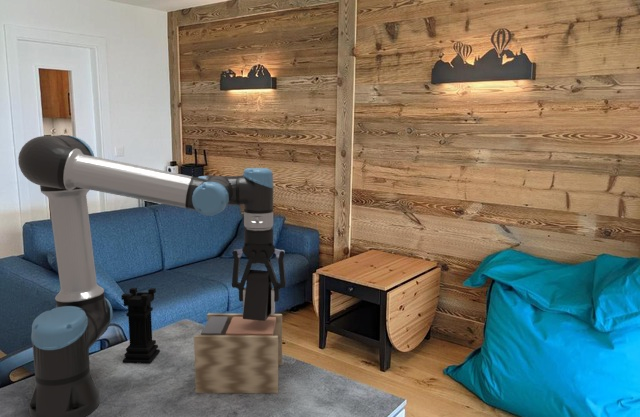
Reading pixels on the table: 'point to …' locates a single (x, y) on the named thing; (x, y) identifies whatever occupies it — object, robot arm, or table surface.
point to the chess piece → (140, 327)
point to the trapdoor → (239, 326)
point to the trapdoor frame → (238, 361)
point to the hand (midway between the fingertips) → (259, 312)
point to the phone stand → (257, 296)
